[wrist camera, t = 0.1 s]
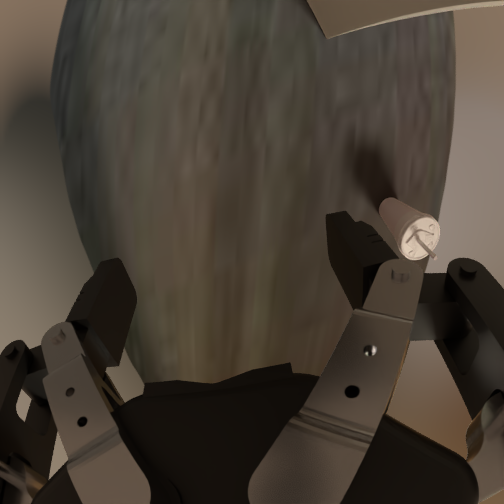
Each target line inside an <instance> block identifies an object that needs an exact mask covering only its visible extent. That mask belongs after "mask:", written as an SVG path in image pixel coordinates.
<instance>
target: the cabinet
mask: <svg viewBox="0 0 504 504" xmlns="http://www.w3.org/2000/svg"><path fill="white" fill-rule="evenodd" d="M307 2H308V4H309V6H310V8H311V9H312V11H313V13H314V15H315V17H316V19H317V21H318V23H319V25H320V27H321V29H322V31H323V33H324V35H325V37H326V39H329V38H332V37H335V36H338V35H342V34H345V33H348V32H352V31H355V30H359V29H363V28H366V27H370V26H374V25H378V24H383V23H387V22H391V21H396V20H401V19H406V18H411V17H416V16H422V15H427V14H433V13H439V12H445V11H452V10H459V9H467V8H477V7H489V6H504V0H307Z"/></svg>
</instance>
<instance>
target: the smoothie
mask: <svg viewBox="0 0 504 504" xmlns="http://www.w3.org/2000/svg"><path fill="white" fill-rule="evenodd" d="M379 215H380V216H381V218H382V219H383V221H384V222H385V224H386V226H387V227H388V229H389V230H390V232H391V233H392V235H393V236H394V238H395V240H396V241H397V243H398V248H399V250H400V252H401V253H402V254H403V255H404V256H405V257H406V258H408V259H410V260H419V259H422V258H424V257H426V256H427V255H428V254H429V255H430V256H431V257H432V258H433V259H434V260H436V259H437V256H436V255H435V254H434V253H433V252H432V251H433V249H434V248H435V247H436V245H437V243H438V240H439V237H440V227H439V224H438V222H437V221H436V220H435V219H434V218H433V217H432V216H431V215H429V214H425V213H421V212H419V211H417V210H416V209H414V208H412V207H410V206H408V205H406V204H405V203H403V202H401V201H399V200H397V199H395V198H393V197H389V198H386V199H385V200H383V201H382V203H381V204H380V206H379Z"/></svg>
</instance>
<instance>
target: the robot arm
mask: <svg viewBox="0 0 504 504" xmlns="http://www.w3.org/2000/svg"><path fill="white" fill-rule="evenodd" d="M326 231H327V245H328V255H329V260H330V263H331V266H332V268H333V270H334V272H335V274H336V276H337V278H338V280H339V282H340V284H341V286H342V288H343V290H344V292H345V294H346V296H347V298H348V300H349V302H350V304H351V306H352V308H353V310H354V312H353V313H352V316H351V318H350V320H349V322H348V324H347V326H346V328H345V330H344V332H343V334H342V336H341V338H340V340H339V342H338V344H337V346H336V348H335V350H334V352H333V354H332V355H331V357H330V359H329V361H328V363H327V365H326V367H325V369H324V370H323V372H322V374H321V376H320V377H319V376H315V375H310V374H302V373H293V372H292V368H291V363H285V364H280V365H275V366H270V367H264V368H259V369H253V370H250V371H248V372H245V373H243V374H240V375H237V376H235V377H232V378H229V379H226V380H224V381H221V382H218V383H213V384H209V383H199V382H189V381H180V380H174V381H164V382H153V383H145V386H144V392H143V395H140V396H137V397H135V398H133V399H131V400H129V401H127V402H126V403H125V402H124V401H123V399H122V397H121V396H120V394H119V393H118V391H117V389H116V388H115V386H114V384H113V382H112V381H111V379H110V377H109V376H108V374H107V373H106V372H105V371H106V368H107V367H114V366H119V364H120V360H121V356H122V353H123V349H124V345H125V342H126V338H127V335H128V331H129V328H130V324H131V321H132V318H133V314H134V311H135V308H136V304H137V295H136V291H135V289H134V286H133V284H132V282H131V280H130V278H129V276H128V274H127V271H126V269H125V267H124V265H123V263H122V261H121V260H120V259H119V258H114V259H110V260H106V261H102V262H100V264H99V265H98V267H97V269H96V271H95V273H94V275H93V276H92V277H91V278H90V279H89V280H88V281H87V282H86V283H85V284H84V286H83V288H82V290H81V291H80V295H78V297H77V299H76V302H75V303H74V305H73V307H72V309H71V311H70V313H69V315H68V317H67V319H66V321H65V322H61V323H58V324H56V325H54V326H53V327H51V328H50V329H49V330H48V331H47V332H46V333H45V335H44V336H43V338H42V341H41V345H40V346H37V347H35V348H32V349H29V348H28V347H27V345H26V344H25V343H24V342H23V341H22V340H16V341H13V342H11V343H10V344H9V345H7V346H6V347H5V349H4V350H3V351H2V353H1V355H0V504H478V503H479V502H481V501H483V500H485V499H487V498H488V497H490V496H492V495H494V494H496V493H497V492H499V491H501V490H502V489H504V289H503V288H502V286H501V285H500V284H499V283H498V282H497V281H496V279H494V277H493V276H492V275H491V274H490V273H489V271H488V270H487V269H486V268H485V267H484V266H483V265H482V264H480V263H479V262H477V261H475V260H472V259H469V258H457V259H454V260H452V261H451V262H450V263H449V264H448V268H447V273H423V270H422V269H421V267H420V266H419V265H418V264H416V263H414V262H412V261H410V260H406V259H399V258H398V256H397V255H396V254H395V253H394V252H393V250H392V249H391V248H390V247H389V246H388V244H387V243H386V242H385V241H383V238H382V237H381V236H380V235H378V233H377V231H376V230H375V229H374V228H373V227H372V226H371V225H369V224H367V223H365V222H363V221H358V222H355V221H354V220H353V219H352V217H351V216H350V215H349V214H348V213H347V212H346V211H342V212H336V213H331V214H327V215H326ZM414 340H415V341H417V340H434V342H435V344H436V345H437V347H438V349H439V351H440V353H441V355H442V357H443V359H444V361H445V363H446V365H447V367H448V369H449V371H450V373H451V375H452V377H453V379H454V381H455V383H456V385H457V387H458V389H459V391H460V394H461V396H462V398H463V400H464V402H465V405H466V407H467V409H468V412H469V414H470V416H471V418H472V422H471V423H470V425H469V427H468V429H467V432H466V443H467V448H468V454H467V459H466V460H465V459H464V458H463V457H461V456H460V455H459V454H457V453H456V452H454V451H452V450H450V449H448V448H446V447H444V446H443V445H441V444H439V443H437V442H435V441H433V440H431V439H430V438H428V437H426V436H424V435H422V434H421V433H419V432H417V431H415V430H413V429H412V428H410V427H408V426H406V425H405V424H403V423H401V422H399V421H398V420H396V419H394V418H392V417H391V416H389V415H387V412H388V409H389V406H390V404H391V401H392V398H393V395H394V392H395V389H396V386H397V383H398V379H399V377H400V374H401V371H402V367H403V364H404V361H405V358H406V354H407V350H408V347H409V344H410V341H414ZM21 389H22V390H23V391H24V392H25V393H26V394H27V395H28V396H29V397H30V398H31V399H32V400H31V403H30V406H29V410H28V413H27V417H26V420H25V422H24V421H23V420H22V419H21V418H20V417H19V416H18V414H17V411H16V403H17V400H18V397H19V394H20V391H21ZM57 431H58V432H59V435H60V438H61V440H62V443H63V445H64V448H65V451H66V453H67V456H68V461H67V462H66V463H65V464H64V465H63V466H62V467H61V468H60V469H59V470H58V471H57V472H56V473H55V474H54V475H53V476H52V477H51V479H49V473H50V467H51V461H52V456H53V450H54V445H55V441H56V436H57ZM48 479H49V480H48Z"/></svg>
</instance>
